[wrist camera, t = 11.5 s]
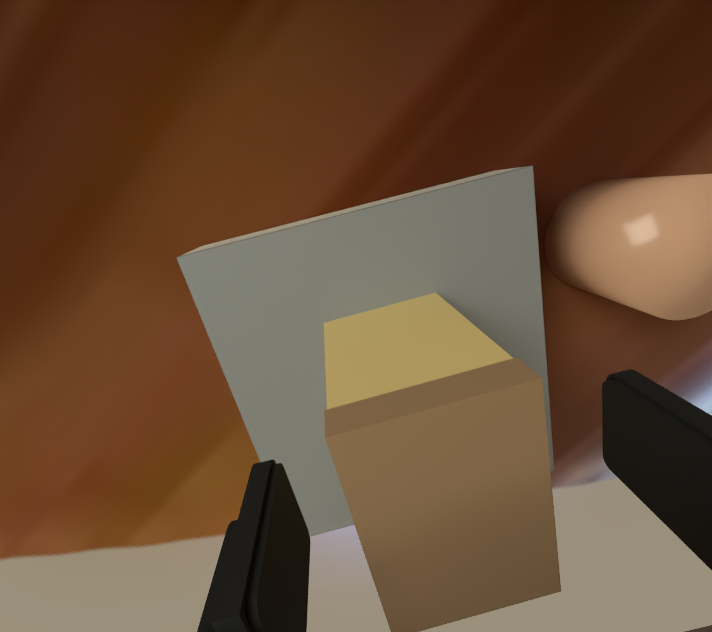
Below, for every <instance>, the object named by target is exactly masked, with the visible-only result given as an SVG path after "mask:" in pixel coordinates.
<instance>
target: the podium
mask: <svg viewBox="0 0 712 632" xmlns="http://www.w3.org/2000/svg"><path fill="white" fill-rule="evenodd" d="M177 260H178V263H179V265H180V267H181V270H182V272H183V275H184V277H185V280H186V282H187V284H188V287H189V289H190V292H191V294H192V297H193V299H194V301H195V304H196V306H197V309H198V311H199V314H200V316H201V318H202V321H203V323H204V326H205V328H206V331H207V333H208V336H209V338H210V340H211V343H212V345H213V348H214V350H215V353H216V355H217V357H218V360H219V362H220V365H221V367H222V370H223V372H224V374H225V377H226V379H227V382H228V384H229V387H230V389H231V391H232V394H233V396H234V399H235V401H236V404H237V406H238V408H239V411H240V413H241V416H242V418H243V421H244V423H245V425H246V428H247V430H248V433H249V435H250V438H251V440H252V443H253V445H254V447H255V450H256V452H257V455H258V457H259V460H260V462H264V461H268V460H272V459H273V460H275V462H276V464H278V463H282V464H283V466H284V469H285V471H286V474H287V476H288V479H289V482H290V484H291V487H292V489H293V492H294V494H295V497H296V500H297V502H298V505H299V507H300V510H301V512H302V515H303V518H304V520H305V523H306V525H307V528H308V531H309V536H313V535H317V534H321V533H325V532H328V531H331V530H335V529H340V528H343V527H347V526H350V525H354V521H353V518H352V515H351V512H350V510H349V507H348V504H347V501H346V498H345V495H344V492H343V489H342V486H341V483H340V480H339V477H338V474H337V471H336V468H335V465H334V463H333V460H332V457H331V454H330V451H329V448H328V445H327V442H326V439H325V415H324V410H327V397H326V372H325V346H324V323H326V322H329V321H333V320H337V319H341V318H344V317H348V316H352V315H355V314H359V313H363V312H366V311H370V310H374V309H377V308H381V307H385V306H388V305H392V304H396V303H399V302H403V301H407V300H410V299H414V298H418V297H421V296H425V295H429V294H432V293H437V294H438V295H439V296H440V297H442V298H443V299H444V300H445V301H446V302H448V303H449V304H450V305H451V306H452V307H453V308H455V309H456V310H457V311H458V312H459V313H461V314H462V315H463V316H464V317H465V318H466V319H468V320H469V321H470V322H471V323H472V324H474V325H475V326H476V327H477V328H478V329H479V330H481V331H482V332H483V333H484V334H485V335H487V336H488V337H489V338H490V339H491V340H492V341H494V342H495V343H496V344H497V345H498V346H500V347H501V348H502V349H503V350H504V351H505V352H507V353H508V354H509V355H510V356H511V357H513V358H516V357H517V358H519V359H520V360H521V361H522V362H523V363H525V364H526V365H527V366H528V367H529V368H531V369H532V370H533V371H534V372H536V373H537V374H538V375H539V376H540V377H542V381H543V393H544V404H545V415H546V427H547V438H548V449H549V461H550V471H554V460H553V446H552V432H551V417H550V403H549V389H548V375H547V361H546V346H545V332H544V318H543V304H542V290H541V275H540V261H539V247H538V233H537V219H536V204H535V190H534V176H533V166H527V167H519V168H512V169H504V170H496V171H491V172H487V173H484V174H480V175H476V176H472V177H468V178H464V179H460V180H456V181H452V182H449V183H445V184H441V185H437V186H433V187H429V188H425V189H421V190H418V191H414V192H410V193H406V194H402V195H398V196H394V197H390V198H386V199H383V200H379V201H375V202H371V203H367V204H363V205H359V206H355V207H352V208H348V209H344V210H340V211H336V212H332V213H328V214H324V215H320V216H317V217H313V218H309V219H305V220H301V221H297V222H293V223H289V224H285V225H282V226H278V227H274V228H270V229H266V230H262V231H258V232H254V233H251V234H247V235H243V236H239V237H235V238H231V239H227V240H223V241H219V242H216V243H212V244H208V245H204V246H201V247H199V248H197V249H194V250H192V251H190V252H188V253H186V254H183V255H181V256H179V257H177Z"/></svg>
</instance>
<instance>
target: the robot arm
mask: <svg viewBox="0 0 712 632" xmlns="http://www.w3.org/2000/svg"><path fill="white" fill-rule="evenodd" d="M602 404H603V458H604V461H605V463H606V465H607V466H608V468H609V469H610V470H611V471H612V472H613V473H614V474H615V475H616V476H617V477H618V478H619V479H620V480H621V481H622V482H623V483H624V484H625V485H626V486H627V487H628V488H629V489H630V490H631V491H632V492H634V494H635V495H636V496H637V497H638V498H639V499H640V500H641V501H642V502H643V503H644V504H646V506H647V507H648V508H649V509H650V510H651V511H652V512H653V513H654V514H655V515H656V516H657V517H658V518H659V519H660V520H662V521H663V522H664V524H666V525H667V526H668V527H669V528H670V529H671V530H672V531H673V532H674V533H675V534H676V535H677V536H678V537H679V538H680V539H681V540H682V541H683V542H684V543H685V544H686V545H687V546H688V547H689V548H690V549H691V550H692V551H693V552H694V553H695V554H696V555H697V556H698V557H699V558H700V559H701V560H702V561H703V562H704V563H705V564H706V565H707V566H708V567H709V568H710V569H711V570H712V416H711V415H709V414H708V413H706V412H704V411H703V410H701V409H699V408H698V407H696V406H694V405H692V404H691V403H689V402H687V401H686V400H684V399H682V398H681V397H679V396H677V395H676V394H674V393H672V392H670V391H669V390H667V389H665V388H664V387H662V386H660V385H659V384H657V383H655V382H653V381H652V380H650V379H648V378H647V377H645V376H643V375H642V374H640V373H638V372H636V371H634V370H626V371H622V372H618V373H614V374H610V375H608V377H607V380H606V381H605V382H604V383H603V386H602ZM309 558H310V536H309V531H308V528H307V525H306V523H305V520H304V518H303V515H302V512H301V510H300V507H299V505H298V502H297V500H296V497H295V494H294V492H293V489H292V487H291V484H290V482H289V479H288V476H287V474H286V471H285V469H284V466H283V464H282V463H278V464H276V462H275V460H273V459H272V460H268V461H264V462H260V463H256V464H254V465H253V466H252V469H251V472H250V476H249V480H248V484H247V487H246V491H245V495H244V499H243V502H242V506H241V510H240V514H239V517H238V520H235V521H232V522H231V523H230V524H229V526H228V528H227V531H226V534H225V538H224V541H223V545H222V548H221V552H220V555H219V558H218V562H217V565H216V569H215V572H214V576H213V579H212V583H211V586H210V589H209V593H208V597H207V600H206V603H205V607H204V610H203V614H202V617H201V621H200V624H199V627H198V631H197V632H306V627H307V605H308V583H309V560H310V559H309ZM686 632H712V625H711V626H707V627H702V628H699V629H694V630H690V631H686Z"/></svg>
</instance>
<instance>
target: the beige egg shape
mask: <svg viewBox="0 0 712 632" xmlns="http://www.w3.org/2000/svg"><path fill="white" fill-rule="evenodd" d="M544 253H545V258H546V262H547V264H548V266H549V268H550V270H551V271H552V273H553V274H554V275H555V276H556V277H557V278H558V279H559V280H561V281H562V282H564V283H566V284H568V285H571V286H574V287H577V288H579V289H582V290H585V291H588V292H590V293H593V294H596V295H599V296H601V297H604V298H607V299H610V300H612V301H615V302H618V303H621V304H623V305H626V306H629V307H632V308H634V309H637V310H640V311H643V312H645V313H648V314H651V315H654V316H656V317H659V318H663V319H667V320H685V319H690V318H694V317H697V316H700V315H703V314H705V313H707V312H710V311H712V174H700V175H680V176H660V177H641V178H621V179H601V180H596V181H592V182H589V183H586V184H584V185H582V186H580V187H578V188H577V189H575V190H574V191H572V192H571V193H570V194H569V195H567V196H566V197H565V198H564V199H563V200H562V201H561V203H560V204H559V205H558V206H557V208H556V209H555V211H554V212H553V214H552V216H551V218H550V220H549V223H548V225H547V228H546V232H545V238H544Z"/></svg>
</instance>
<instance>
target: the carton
mask: <svg viewBox="0 0 712 632" xmlns="http://www.w3.org/2000/svg"><path fill="white" fill-rule="evenodd" d="M324 346H325V372H326V397H327V410H324V415H325V439H326V442H327V445H328V448H329V451H330V454H331V457H332V460H333V463H334V465H335V468H336V471H337V474H338V477H339V480H340V483H341V486H342V489H343V492H344V495H345V498H346V501H347V504H348V507H349V510H350V512H351V515H352V518H353V521H354V524H355V527H356V530H357V533H358V536H359V539H360V541H361V545H362V548H363V551H364V553H365V556H366V559H367V562H368V565H369V568H370V571H371V574H372V577H373V580H374V583H375V586H376V589H377V592H378V594H379V598H380V601H381V603H382V606H383V609H384V612H385V615H386V618H387V621H388V624H389V627H390V630H391V632H418V631H422V630H426V629H429V628H433V627H436V626H440V625H443V624H447V623H451V622H454V621H457V620H461V619H465V618H468V617H472V616H475V615H479V614H482V613H486V612H489V611H493V610H496V609H500V608H504V607H507V606H510V605H514V604H518V603H521V602H525V601H528V600H532V599H535V598H539V597H542V596H546V595H549V594H553V593H557V592H560V591H561V586H560V574H559V563H558V552H557V540H556V529H555V518H554V506H553V495H552V483H551V472H550V461H549V449H548V438H547V427H546V415H545V404H544V393H543V381H542V377H540V376H539V375H538V374H537V373H536V372H534V371H533V370H532V369H531V368H529V367H528V366H527V365H526V364H525V363H523V362H522V361H521V360H520V359H519V358H517V357H516V358H513V357H511V356H510V355H509V354H508V353H507V352H505V351H504V350H503V349H502V348H501V347H500V346H498V345H497V344H496V343H495V342H494V341H492V340H491V339H490V338H489V337H488V336H487V335H485V334H484V333H483V332H482V331H481V330H479V329H478V328H477V327H476V326H475V325H474V324H472V323H471V322H470V321H469V320H468V319H466V318H465V317H464V316H463V315H462V314H461V313H459V312H458V311H457V310H456V309H455V308H453V307H452V306H451V305H450V304H449V303H448V302H446V301H445V300H444V299H443V298H442V297H440V296H439V295H438V294H437V293H432V294H429V295H425V296H421V297H418V298H414V299H410V300H407V301H403V302H399V303H396V304H392V305H388V306H385V307H381V308H377V309H374V310H370V311H366V312H363V313H359V314H355V315H352V316H348V317H344V318H341V319H337V320H333V321H329V322H326V323H324Z"/></svg>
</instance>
